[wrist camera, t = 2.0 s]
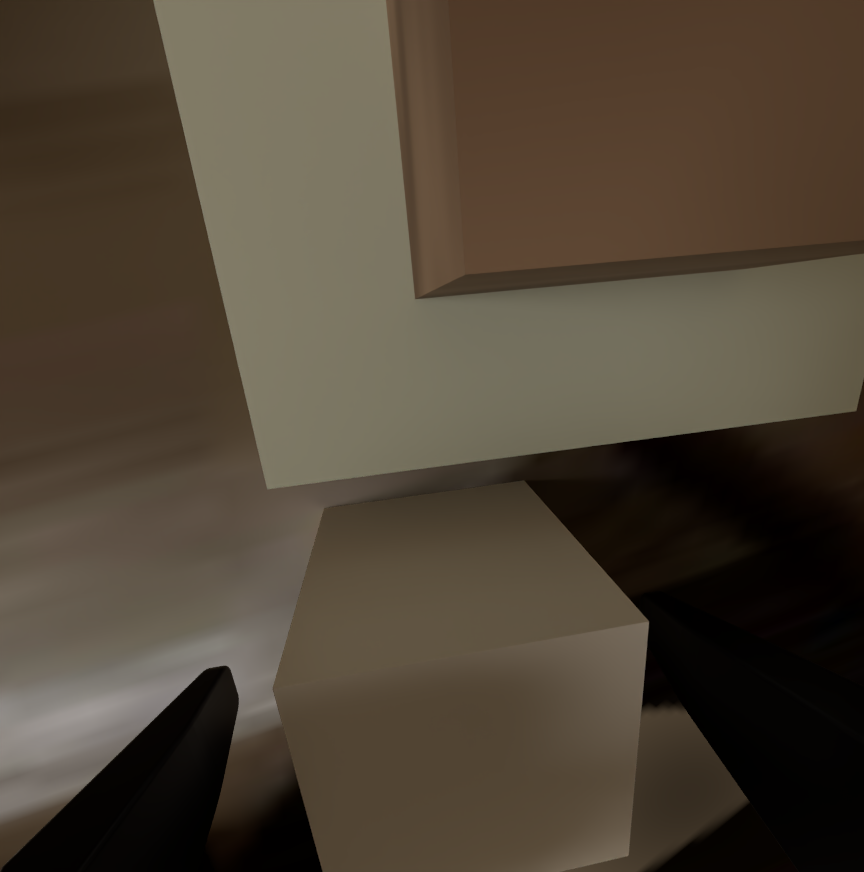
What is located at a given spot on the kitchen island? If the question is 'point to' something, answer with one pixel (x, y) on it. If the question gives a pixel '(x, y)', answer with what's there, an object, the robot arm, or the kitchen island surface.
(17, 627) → the kitchen island surface
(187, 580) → the kitchen island surface
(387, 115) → the base board
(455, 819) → the ceramic cube
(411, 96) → the walnut block
